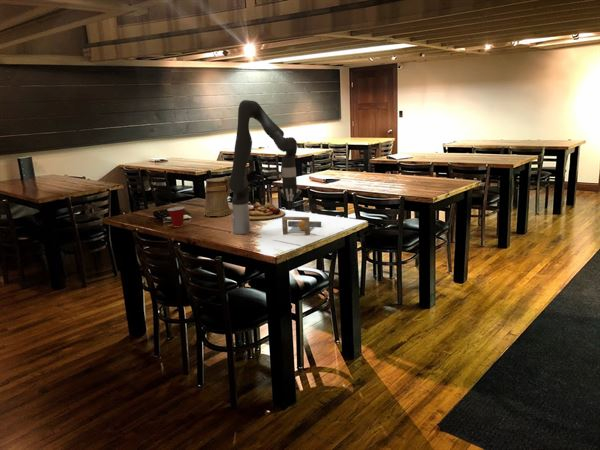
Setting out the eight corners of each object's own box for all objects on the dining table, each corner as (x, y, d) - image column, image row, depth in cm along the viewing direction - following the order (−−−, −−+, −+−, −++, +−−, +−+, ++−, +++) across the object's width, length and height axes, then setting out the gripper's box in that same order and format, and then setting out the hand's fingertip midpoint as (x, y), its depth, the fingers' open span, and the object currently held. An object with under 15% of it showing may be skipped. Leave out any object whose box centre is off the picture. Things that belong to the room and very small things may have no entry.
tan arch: (308, 235, 277) (307, 218, 275) (282, 234, 281) (281, 217, 279) (310, 233, 280) (309, 217, 278) (284, 233, 284) (283, 216, 282)
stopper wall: (288, 226, 299) (287, 221, 298) (289, 225, 301) (288, 220, 300) (320, 227, 294) (320, 222, 293) (321, 226, 296) (321, 221, 295)
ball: (297, 231, 286) (297, 221, 285) (299, 229, 292) (299, 218, 291) (307, 231, 285) (307, 221, 284) (309, 229, 291) (309, 219, 290)
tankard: (198, 216, 341) (194, 180, 335) (221, 209, 359) (218, 175, 354) (218, 218, 331) (214, 181, 325) (241, 211, 350) (238, 176, 344)
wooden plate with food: (240, 223, 314) (240, 211, 312) (234, 213, 344) (233, 201, 342) (290, 219, 322) (289, 207, 320) (279, 210, 352) (279, 198, 350)
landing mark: (286, 232, 285) (286, 232, 285) (293, 227, 297) (293, 227, 297) (308, 233, 281) (308, 233, 281) (314, 227, 293) (314, 227, 293)
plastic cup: (175, 224, 320) (173, 205, 318) (190, 224, 317) (188, 206, 314) (165, 228, 311) (163, 209, 308) (180, 228, 307) (178, 209, 304)
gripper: (303, 174, 267) (304, 206, 271) (279, 174, 270) (281, 206, 274) (299, 176, 260) (300, 209, 264) (275, 176, 263) (277, 208, 267)
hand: (290, 207), depth 269 cm, fingers closed
